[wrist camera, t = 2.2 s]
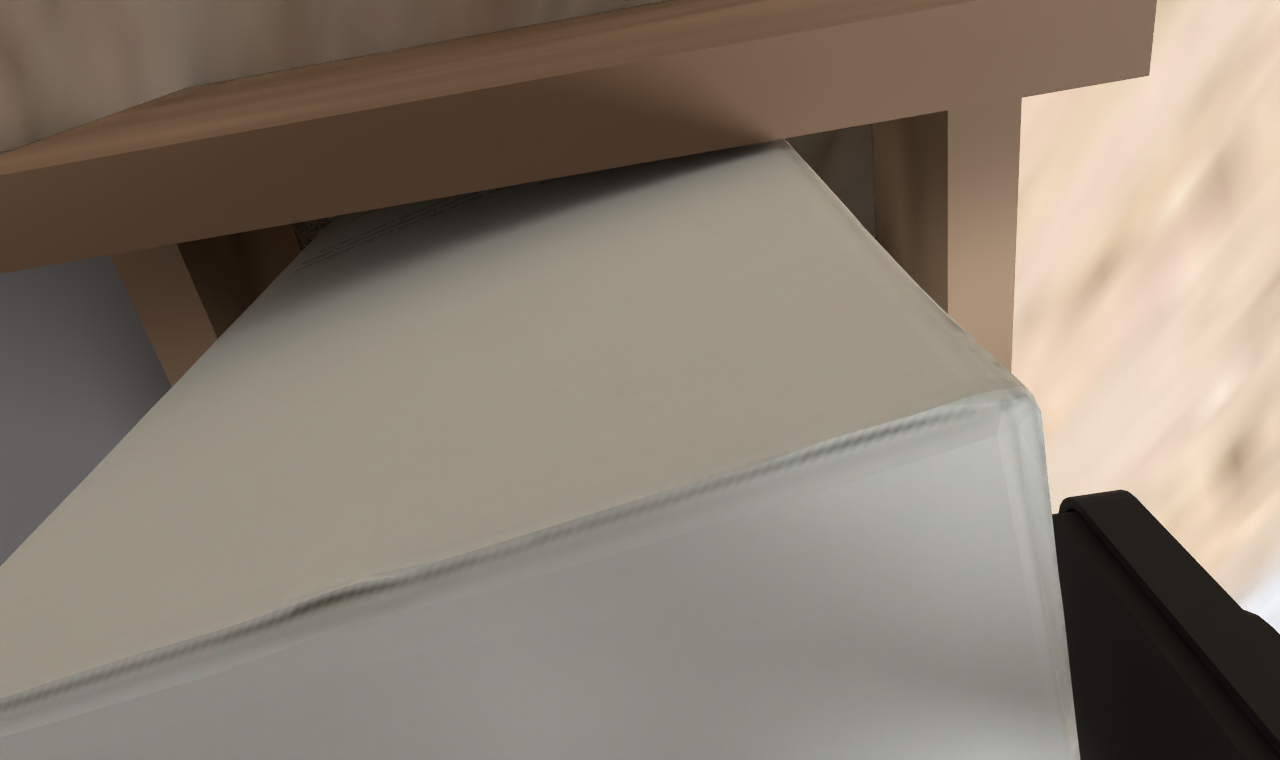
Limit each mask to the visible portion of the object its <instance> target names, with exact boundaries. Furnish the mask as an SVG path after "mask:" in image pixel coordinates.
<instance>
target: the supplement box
mask: <svg viewBox="0 0 1280 760" xmlns="http://www.w3.org/2000/svg"><path fill="white" fill-rule="evenodd" d="M0 760H1080V752H1079V744H1078V736H1077V728H1076V719H1075V710H1074V701H1073V692H1072V684H1071V675H1070V666H1069V656H1068V647H1067V638H1066V629H1065V620H1064V611H1063V603H1062V596H1061V589H1060V581H1059V574H1058V565H1057V556H1056V547H1055V538H1054V530H1053V521H1052V512H1051V503H1050V494H1049V485H1048V476H1047V466H1046V456H1045V446H1044V436H1043V426H1042V416H1041V411H1040V409H1039V407H1038V405H1037V403H1036V400H1035V398H1034V396H1033V394H1032V393H1031V392H1030V391H1029V390H1028V389H1027V388H1026V387H1025V386H1024V385H1023V384H1022V383H1021V382H1020V381H1019V380H1018V379H1017V378H1016V377H1015V376H1014V375H1013V374H1012V373H1011V372H1010V371H1009V370H1008V369H1006V368H1005V367H1004V366H1003V365H1002V364H1001V363H1000V362H999V361H998V360H997V359H996V358H995V357H993V356H992V355H991V354H990V353H989V352H988V351H987V350H986V349H985V348H984V347H982V346H981V345H980V344H979V343H978V342H977V341H976V340H975V339H974V338H973V337H972V336H971V335H970V334H968V333H967V332H966V331H965V330H964V329H963V328H962V327H961V326H960V325H959V324H958V323H957V322H956V321H955V320H953V319H952V318H951V317H950V316H949V315H948V314H947V313H946V312H945V311H944V310H943V309H942V308H941V307H940V306H939V305H938V304H937V303H936V302H935V301H934V300H933V299H932V298H931V297H930V296H929V295H928V294H927V293H926V292H925V291H924V290H923V289H922V288H921V287H920V286H919V285H918V284H917V283H916V282H915V281H914V280H913V279H912V278H911V277H910V276H909V275H908V274H907V273H906V271H905V270H904V269H903V268H902V267H901V266H900V265H899V264H898V263H897V262H896V261H895V260H894V259H893V258H892V257H891V256H890V254H889V253H888V252H887V251H886V250H885V249H884V248H883V247H882V246H881V245H880V244H879V243H878V242H877V241H876V240H875V238H874V237H873V236H872V235H871V234H870V233H869V232H868V231H867V230H866V229H865V228H864V227H863V225H862V224H861V223H860V222H859V221H858V220H857V218H856V217H855V216H854V215H853V214H852V213H851V212H850V210H849V209H848V208H847V207H846V206H845V205H844V204H843V203H842V202H841V200H840V199H839V198H838V197H837V196H836V195H835V194H834V193H833V192H832V190H831V189H830V188H829V187H828V186H827V185H826V184H825V183H824V182H823V181H822V179H821V178H820V177H819V176H818V175H817V174H816V173H815V172H814V171H813V169H812V168H811V167H810V166H809V165H808V164H807V163H806V162H805V161H804V160H803V159H802V158H801V156H800V155H799V154H798V153H797V152H796V151H795V149H794V148H793V147H792V146H791V145H790V144H789V143H788V142H787V141H786V140H785V139H779V140H773V141H767V142H761V143H756V144H750V145H744V146H738V147H732V148H727V149H721V150H715V151H709V152H703V153H698V154H692V155H686V156H680V157H674V158H669V159H663V160H657V161H651V162H646V163H640V164H634V165H628V166H622V167H617V168H611V169H605V170H599V171H593V172H588V173H582V174H576V175H570V176H564V177H559V178H553V179H547V180H541V181H536V182H530V183H524V184H518V185H512V186H507V187H501V188H495V189H489V190H483V191H478V192H472V193H466V194H460V195H455V196H449V197H443V198H437V199H431V200H426V201H420V202H414V203H408V204H402V205H397V206H391V207H385V208H379V209H373V210H368V211H362V212H356V213H350V214H345V215H339V216H335V217H334V218H333V219H332V220H331V221H330V222H329V223H328V224H327V225H326V226H325V227H324V228H323V229H322V230H321V231H320V232H319V233H318V234H317V235H316V236H315V238H314V239H313V240H312V241H311V242H310V243H309V244H308V245H307V246H306V247H305V248H304V249H303V250H302V251H301V252H300V253H299V255H298V256H297V257H296V258H295V259H294V260H293V261H292V262H291V263H290V264H289V265H288V266H287V267H286V268H285V269H284V270H283V271H282V272H281V274H280V275H279V276H278V277H277V278H276V279H275V280H274V281H273V282H272V283H271V284H270V285H269V286H268V287H267V288H266V289H265V290H264V292H263V293H262V294H261V295H260V296H259V297H258V298H257V299H256V300H255V301H254V302H253V303H252V304H251V305H250V306H249V307H248V308H247V309H246V310H245V311H244V312H243V313H242V314H241V316H240V317H239V318H238V319H237V320H236V321H235V322H234V323H233V324H232V325H231V326H230V327H229V328H228V329H227V330H226V331H225V332H224V333H223V334H222V335H221V336H220V337H219V338H218V339H217V340H216V341H215V342H214V344H213V345H212V346H211V347H210V348H209V349H208V350H207V351H206V352H205V353H204V354H203V355H202V356H201V357H200V358H199V359H198V360H197V362H196V363H195V364H194V365H193V366H192V367H191V368H190V369H189V370H188V371H187V372H186V373H185V374H184V375H183V376H182V377H181V379H180V380H179V381H178V382H177V383H176V384H175V385H174V386H173V387H172V388H171V389H170V390H169V391H168V392H167V393H166V394H165V395H164V396H163V397H162V398H161V399H160V400H159V401H158V402H157V403H156V404H155V405H154V406H153V407H152V408H151V409H150V410H149V411H148V413H147V414H146V415H145V416H144V417H143V418H142V419H141V420H140V421H139V422H138V423H137V424H136V425H135V426H134V427H133V428H132V430H131V431H130V432H129V433H128V434H127V435H126V436H125V437H124V438H123V439H122V440H121V441H120V442H119V443H118V444H117V445H116V447H115V448H114V449H113V450H112V451H111V452H110V453H109V454H108V455H107V456H106V457H105V458H104V459H103V460H102V461H101V462H100V463H99V464H98V465H97V466H96V467H95V468H94V470H93V471H92V472H91V473H90V474H89V475H88V476H87V477H86V478H85V479H84V480H83V481H82V482H81V483H80V484H79V485H78V486H77V487H76V488H75V489H74V490H73V491H72V492H71V493H70V495H69V496H68V497H67V498H66V499H65V500H64V501H63V502H62V503H61V504H60V505H59V506H58V507H57V508H56V509H55V510H54V511H53V512H52V513H51V514H50V515H49V516H48V517H47V518H46V519H45V520H44V521H43V522H42V523H41V525H40V526H39V527H38V528H37V529H36V530H35V531H34V532H33V533H32V534H31V535H30V536H29V537H28V538H27V539H26V540H25V541H24V542H23V543H22V544H21V545H20V546H19V547H18V548H17V549H16V550H15V552H14V553H13V554H12V555H11V556H10V557H9V558H8V559H7V560H6V561H5V562H4V563H3V564H2V565H1V566H0Z"/></svg>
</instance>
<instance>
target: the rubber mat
mask: <svg viewBox="0 0 1280 760" xmlns="http://www.w3.org/2000/svg"><path fill="white" fill-rule="evenodd" d="M7 152H9V151H7ZM7 152H1V153H0V155H1V154H4V153H7ZM171 388H172V386H171V384H170V382H169V380H168V378H167V376H166V373H165V371H164V369H163V367H162V365H161V363H160V361H159V359H158V357H157V354H156V352H155V350H154V348H153V346H152V344H151V342H150V340H149V337H148V335H147V333H146V331H145V329H144V327H143V325H142V323H141V320H140V318H139V316H138V314H137V312H136V310H135V308H134V306H133V304H132V301H131V299H130V297H129V295H128V293H127V291H126V289H125V287H124V284H123V282H122V280H121V278H120V276H119V274H118V272H117V270H116V268H115V265H114V263H113V261H112V259H111V257H110V255H107V256H101V257H96V258H90V259H84V260H78V261H72V262H67V263H61V264H55V265H49V266H44V267H38V268H32V269H26V270H20V271H15V272H9V273H3V274H0V566H1V565H2V564H3V563H4V562H5V561H6V560H7V559H8V558H9V557H10V556H11V555H12V554H13V553H14V552H15V550H16V549H17V548H18V547H19V546H20V545H21V544H22V543H23V542H24V541H25V540H26V539H27V538H28V537H29V536H30V535H31V534H32V533H33V532H34V531H35V530H36V529H37V528H38V527H39V526H40V525H41V523H42V522H43V521H44V520H45V519H46V518H47V517H48V516H49V515H50V514H51V513H52V512H53V511H54V510H55V509H56V508H57V507H58V506H59V505H60V504H61V503H62V502H63V501H64V500H65V499H66V498H67V497H68V496H69V495H70V493H71V492H72V491H73V490H74V489H75V488H76V487H77V486H78V485H79V484H80V483H81V482H82V481H83V480H84V479H85V478H86V477H87V476H88V475H89V474H90V473H91V472H92V471H93V470H94V468H95V467H96V466H97V465H98V464H99V463H100V462H101V461H102V460H103V459H104V458H105V457H106V456H107V455H108V454H109V453H110V452H111V451H112V450H113V449H114V448H115V447H116V445H117V444H118V443H119V442H120V441H121V440H122V439H123V438H124V437H125V436H126V435H127V434H128V433H129V432H130V431H131V430H132V428H133V427H134V426H135V425H136V424H137V423H138V422H139V421H140V420H141V419H142V418H143V417H144V416H145V415H146V414H147V413H148V411H149V410H150V409H151V408H152V407H153V406H154V405H155V404H156V403H157V402H158V401H159V400H160V399H161V398H162V397H163V396H164V395H165V394H166V393H167V392H168V391H169V390H170V389H171Z"/></svg>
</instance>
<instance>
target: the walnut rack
mask: <svg viewBox="0 0 1280 760" xmlns="http://www.w3.org/2000/svg"><path fill="white" fill-rule="evenodd" d="M1156 3H1157V0H669V1H664V2H658V3H653V4H647V5H642V6H636V7H631V8H625V9H620V10H614V11H609V12H603V13H598V14H592V15H587V16H581V17H576V18H570V19H565V20H559V21H554V22H548V23H543V24H537V25H532V26H526V27H521V28H515V29H510V30H504V31H499V32H493V33H488V34H482V35H477V36H471V37H466V38H460V39H455V40H449V41H444V42H438V43H433V44H427V45H422V46H416V47H411V48H405V49H400V50H394V51H389V52H383V53H378V54H372V55H367V56H361V57H356V58H350V59H345V60H339V61H334V62H328V63H323V64H317V65H312V66H306V67H301V68H295V69H290V70H284V71H279V72H273V73H268V74H262V75H257V76H251V77H246V78H240V79H235V80H229V81H224V82H218V83H213V84H207V85H202V86H196V87H191V88H185V89H182V90H179V91H176V92H174V93H171V94H168V95H165V96H163V97H160V98H157V99H154V100H151V101H149V102H146V103H143V104H140V105H137V106H135V107H132V108H129V109H126V110H124V111H121V112H118V113H115V114H112V115H110V116H107V117H104V118H101V119H98V120H96V121H93V122H90V123H87V124H85V125H82V126H79V127H76V128H73V129H71V130H68V131H65V132H62V133H59V134H57V135H54V136H51V137H48V138H46V139H43V140H40V141H37V142H34V143H32V144H29V145H26V146H23V147H20V148H18V149H15V150H12V151H9V152H7V153H4V154H1V155H0V274H3V273H9V272H15V271H20V270H26V269H32V268H38V267H44V266H49V265H55V264H61V263H67V262H72V261H78V260H84V259H90V258H96V257H101V256H107V255H110V257H111V259H112V261H113V263H114V265H115V268H116V270H117V272H118V274H119V276H120V278H121V280H122V282H123V284H124V287H125V289H126V291H127V293H128V295H129V297H130V299H131V301H132V304H133V306H134V308H135V310H136V312H137V314H138V316H139V318H140V320H141V323H142V325H143V327H144V329H145V331H146V333H147V335H148V337H149V340H150V342H151V344H152V346H153V348H154V350H155V352H156V354H157V357H158V359H159V361H160V363H161V365H162V367H163V369H164V371H165V373H166V376H167V378H168V380H169V382H170V384H171V386H172V387H173V386H174V385H175V384H176V383H177V382H178V381H179V380H180V379H181V377H182V376H183V375H184V374H185V373H186V372H187V371H188V370H189V369H190V368H191V367H192V366H193V365H194V364H195V363H196V362H197V360H198V359H199V358H200V357H201V356H202V355H203V354H204V353H205V352H206V351H207V350H208V349H209V348H210V347H211V346H212V345H213V344H214V342H215V341H216V340H217V339H218V338H219V337H220V336H221V335H222V334H223V333H224V332H225V331H226V330H227V329H228V328H229V327H230V326H231V325H232V324H233V323H234V322H235V321H236V320H237V319H238V318H239V317H240V316H241V314H242V313H243V312H244V311H245V310H246V309H247V308H248V307H249V306H250V305H251V304H252V303H253V302H254V301H255V300H256V299H257V298H258V297H259V296H260V295H261V294H262V293H263V292H264V290H265V289H266V288H267V287H268V286H269V285H270V284H271V283H272V282H273V281H274V280H275V279H276V278H277V277H278V276H279V275H280V274H281V272H282V271H283V270H284V269H285V268H286V267H287V266H288V265H289V264H290V263H291V262H292V261H293V260H294V259H295V258H296V257H297V256H298V255H299V253H300V252H301V248H300V245H299V243H298V240H297V237H296V234H295V232H294V229H293V226H292V223H298V222H304V221H310V220H316V219H321V218H327V217H333V216H339V215H345V214H350V213H356V212H362V211H368V210H373V209H379V208H385V207H391V206H397V205H402V204H408V203H414V202H420V201H426V200H431V199H437V198H443V197H449V196H455V195H460V194H466V193H472V192H478V191H483V190H489V189H495V188H501V187H507V186H512V185H518V184H524V183H530V182H536V181H541V180H547V179H553V178H559V177H564V176H570V175H576V174H582V173H588V172H593V171H599V170H605V169H611V168H617V167H622V166H628V165H634V164H640V163H646V162H651V161H657V160H663V159H669V158H674V157H680V156H686V155H692V154H698V153H703V152H709V151H715V150H721V149H727V148H732V147H738V146H744V145H750V144H756V143H761V142H767V141H773V140H779V139H784V138H790V137H796V136H802V135H808V134H813V133H819V132H825V131H831V130H837V129H842V128H848V127H854V126H860V125H865V124H871V123H872V132H873V157H874V182H875V208H876V233H877V242H878V243H879V244H880V245H881V246H882V247H883V248H884V249H885V250H886V251H887V252H888V253H889V254H890V256H891V257H892V258H893V259H894V260H895V261H896V262H897V263H898V264H899V265H900V266H901V267H902V268H903V269H904V270H905V271H906V273H907V274H908V275H909V276H910V277H911V278H912V279H913V280H914V281H915V282H916V283H917V284H918V285H919V286H920V287H921V288H922V289H923V290H924V291H925V292H926V293H927V294H928V295H929V296H930V297H931V298H932V299H933V300H934V301H935V302H936V303H937V304H938V305H939V306H940V307H941V308H942V309H943V310H944V311H945V312H946V313H947V314H948V315H949V316H950V317H951V318H952V319H953V320H955V321H956V322H957V323H958V324H959V325H960V326H961V327H962V328H963V329H964V330H965V331H966V332H967V333H968V334H970V335H971V336H972V337H973V338H974V339H975V340H976V341H977V342H978V343H979V344H980V345H981V346H982V347H984V348H985V349H986V350H987V351H988V352H989V353H990V354H991V355H992V356H993V357H995V358H996V359H997V360H998V361H999V362H1000V363H1001V364H1002V365H1003V366H1004V367H1005V368H1006V369H1008V370H1009V371H1010V372H1011V359H1012V333H1013V307H1014V281H1015V255H1016V229H1017V203H1018V177H1019V151H1020V125H1021V99H1022V97H1028V96H1033V95H1039V94H1045V93H1051V92H1057V91H1062V90H1068V89H1074V88H1080V87H1085V86H1091V85H1097V84H1103V83H1109V82H1114V81H1120V80H1126V79H1132V78H1138V77H1143V76H1149V71H1150V61H1151V51H1152V42H1153V32H1154V22H1155V13H1156Z"/></svg>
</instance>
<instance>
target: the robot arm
mask: <svg viewBox="0 0 1280 760" xmlns="http://www.w3.org/2000/svg"><path fill="white" fill-rule="evenodd" d="M1052 521H1053V530H1054V538H1055V547H1056V556H1057V565H1058V574H1059V581H1060V589H1061V596H1062V603H1063V611H1064V620H1065V629H1066V638H1067V647H1068V656H1069V666H1070V675H1071V684H1072V692H1073V701H1074V710H1075V719H1076V728H1077V736H1078V744H1079V752H1080V760H1280V634H1279V633H1278V632H1277V631H1276V630H1275V629H1274V628H1273V627H1272V626H1270V625H1269V624H1268V623H1267V622H1266V621H1264V620H1263V619H1262V618H1261V617H1259V616H1258V615H1256V614H1253V613H1251V612H1248V611H1246V610H1243V609H1242V608H1241V607H1240V606H1239V605H1238V604H1237V603H1236V602H1235V601H1234V600H1233V599H1232V598H1231V597H1230V596H1229V595H1228V593H1227V592H1226V591H1225V590H1224V589H1223V588H1222V587H1221V586H1220V585H1219V584H1218V583H1217V582H1216V581H1215V580H1214V579H1213V578H1212V577H1211V576H1210V575H1209V574H1208V573H1207V572H1206V570H1205V569H1204V568H1203V567H1202V566H1201V565H1200V564H1199V563H1198V562H1197V561H1196V560H1195V559H1194V558H1193V557H1192V556H1191V555H1190V554H1189V553H1188V552H1187V551H1186V550H1185V549H1184V548H1183V546H1182V545H1181V544H1180V543H1179V542H1178V541H1177V540H1176V539H1175V538H1174V537H1173V536H1172V535H1171V534H1170V533H1169V532H1168V531H1167V530H1166V529H1165V528H1164V527H1163V526H1162V525H1161V523H1160V522H1159V521H1158V520H1157V519H1156V518H1155V517H1154V516H1153V515H1152V514H1151V513H1150V512H1149V511H1148V510H1147V509H1146V508H1145V507H1144V506H1143V505H1142V504H1141V503H1140V502H1139V501H1138V499H1137V498H1136V497H1135V496H1133V495H1132V494H1131V493H1129V492H1128V491H1125V490H1116V491H1109V492H1102V493H1095V494H1088V495H1081V496H1075V497H1068V498H1066V499H1064V500H1063V501H1062V503H1061V505H1060V509H1059V513H1058V514H1052Z"/></svg>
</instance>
